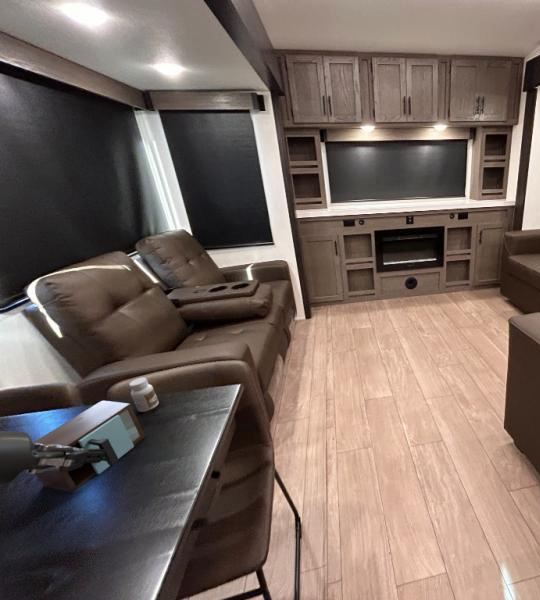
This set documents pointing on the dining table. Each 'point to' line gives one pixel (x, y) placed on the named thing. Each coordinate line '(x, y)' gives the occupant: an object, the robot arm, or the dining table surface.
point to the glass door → (108, 442)
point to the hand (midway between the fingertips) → (100, 455)
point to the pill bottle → (143, 395)
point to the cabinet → (78, 430)
